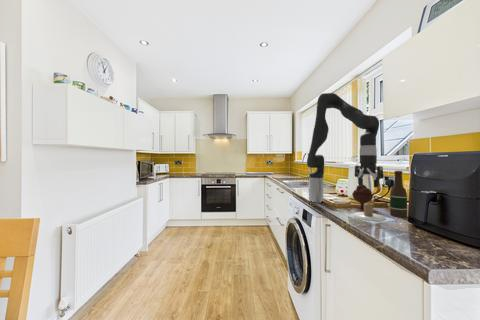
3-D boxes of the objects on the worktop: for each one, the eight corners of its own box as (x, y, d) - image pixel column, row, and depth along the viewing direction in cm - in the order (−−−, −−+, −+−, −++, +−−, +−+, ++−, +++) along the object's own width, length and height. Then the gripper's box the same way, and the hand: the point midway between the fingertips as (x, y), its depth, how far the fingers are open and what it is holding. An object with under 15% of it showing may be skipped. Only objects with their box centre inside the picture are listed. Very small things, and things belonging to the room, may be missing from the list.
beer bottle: (393, 214, 120) (393, 170, 120) (410, 217, 114) (410, 171, 114) (386, 216, 116) (386, 170, 116) (403, 219, 110) (403, 171, 109)
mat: (342, 215, 118) (342, 214, 118) (363, 212, 124) (363, 211, 124) (373, 225, 101) (373, 223, 101) (396, 221, 107) (396, 219, 107)
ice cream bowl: (348, 209, 133) (347, 184, 133) (360, 207, 137) (360, 183, 137) (364, 213, 123) (364, 186, 123) (377, 210, 128) (377, 185, 128)
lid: (346, 215, 116) (346, 202, 116) (365, 212, 122) (365, 200, 121) (371, 222, 103) (371, 208, 103) (391, 219, 109) (391, 205, 108)
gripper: (350, 154, 117) (351, 185, 117) (376, 154, 104) (376, 188, 104) (361, 154, 120) (361, 184, 120) (386, 154, 107) (387, 187, 107)
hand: (368, 186), depth 112 cm, fingers open, 8 cm apart
